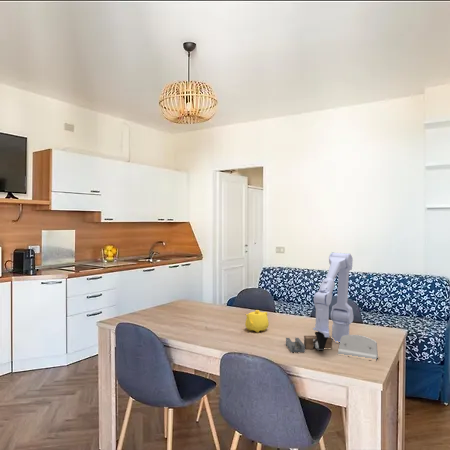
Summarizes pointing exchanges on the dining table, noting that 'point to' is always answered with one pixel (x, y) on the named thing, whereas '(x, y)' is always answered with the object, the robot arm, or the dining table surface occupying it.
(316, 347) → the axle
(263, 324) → the teapot
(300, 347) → the v block
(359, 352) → the hinge
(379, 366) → the dining table surface
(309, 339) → the beam
